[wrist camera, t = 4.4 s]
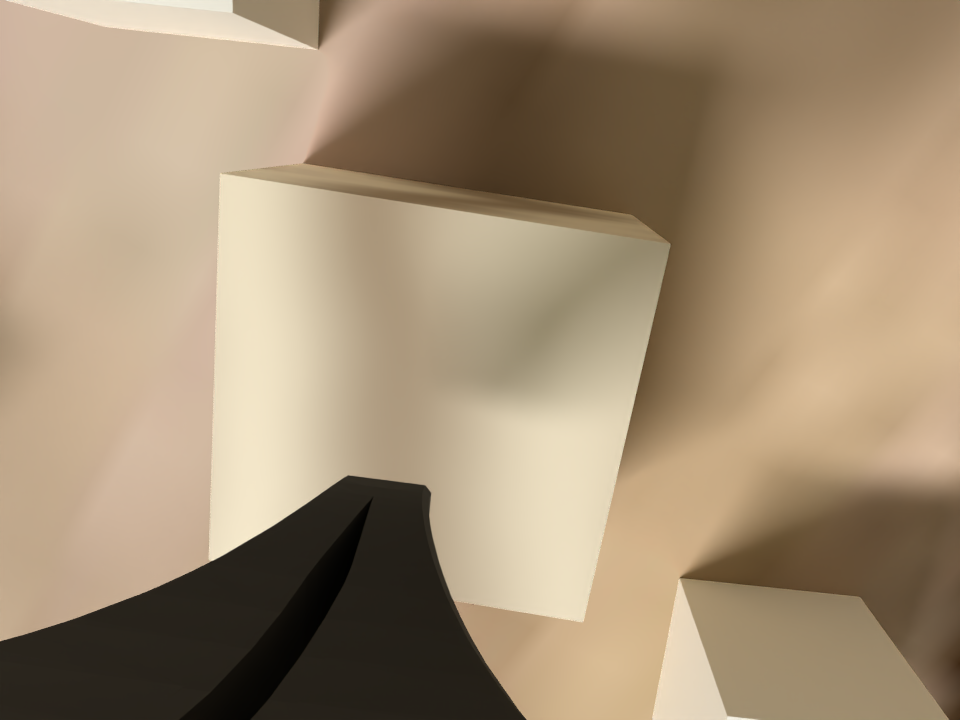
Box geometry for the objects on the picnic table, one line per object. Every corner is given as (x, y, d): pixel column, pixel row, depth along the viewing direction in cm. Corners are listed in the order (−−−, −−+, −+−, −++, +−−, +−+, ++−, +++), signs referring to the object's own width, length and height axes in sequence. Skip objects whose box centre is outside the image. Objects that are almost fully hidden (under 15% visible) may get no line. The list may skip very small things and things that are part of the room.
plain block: (630, 214, 17) (670, 244, 12) (569, 503, 19) (582, 622, 15) (305, 163, 17) (219, 172, 12) (286, 456, 20) (208, 559, 15)
